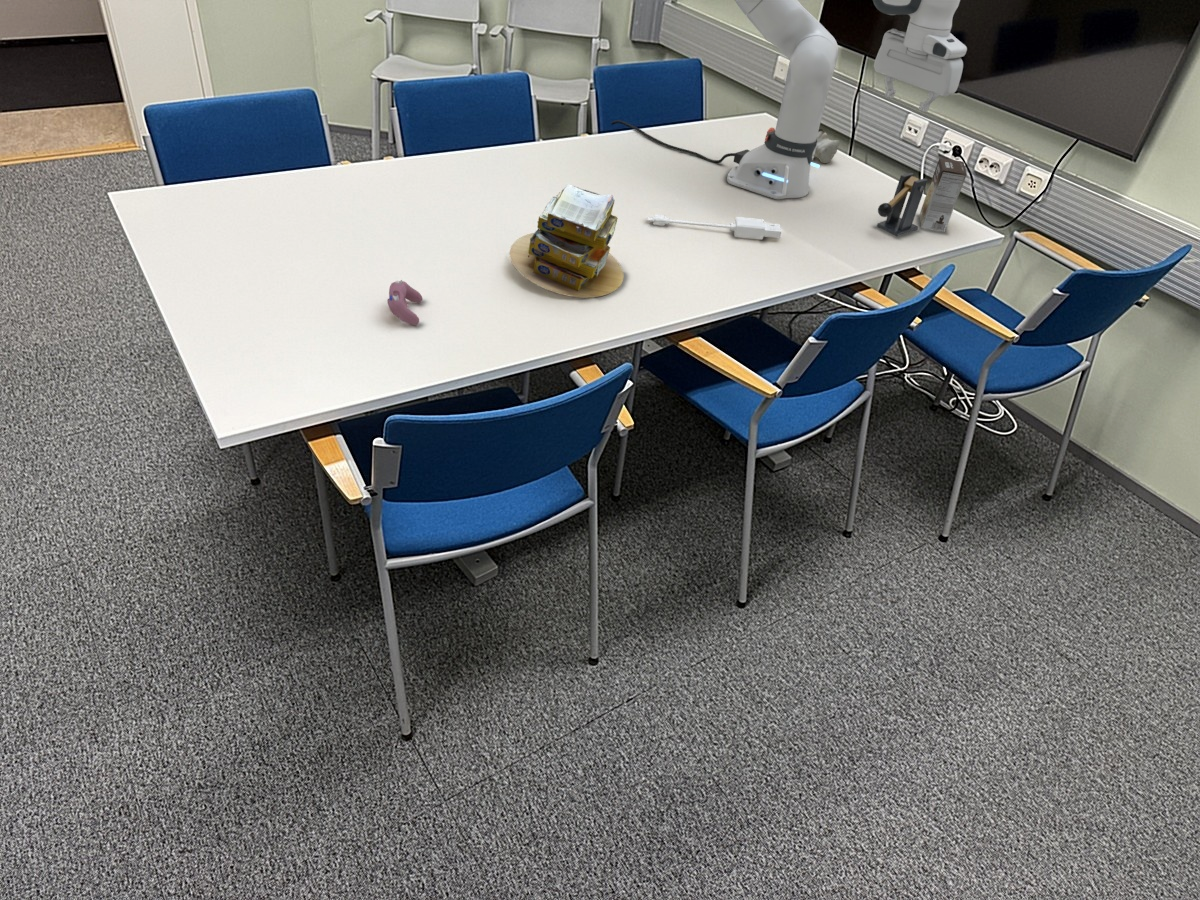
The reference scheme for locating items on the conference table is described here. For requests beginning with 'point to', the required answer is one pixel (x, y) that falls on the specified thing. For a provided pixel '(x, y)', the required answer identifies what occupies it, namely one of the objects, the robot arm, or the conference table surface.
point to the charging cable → (733, 226)
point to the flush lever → (896, 198)
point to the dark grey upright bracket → (904, 224)
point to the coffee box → (942, 194)
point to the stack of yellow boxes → (571, 246)
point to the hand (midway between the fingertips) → (905, 104)
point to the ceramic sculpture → (825, 147)
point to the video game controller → (403, 301)
